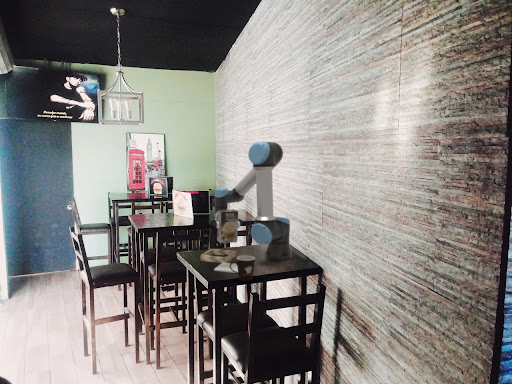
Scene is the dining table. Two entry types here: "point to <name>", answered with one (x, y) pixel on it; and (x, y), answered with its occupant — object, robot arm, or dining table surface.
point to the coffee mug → (245, 267)
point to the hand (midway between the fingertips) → (228, 225)
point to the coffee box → (227, 226)
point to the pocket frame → (209, 258)
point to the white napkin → (227, 267)
